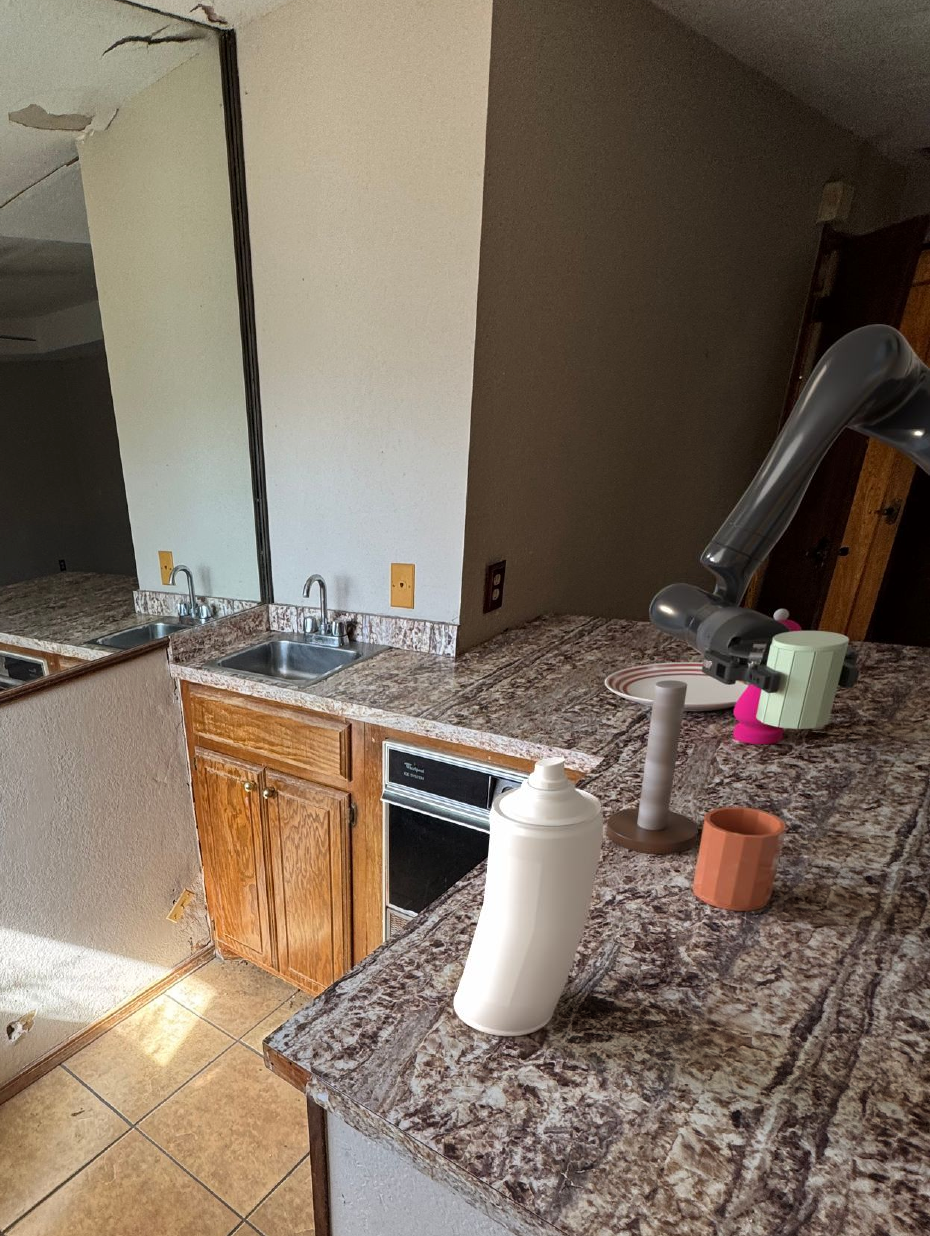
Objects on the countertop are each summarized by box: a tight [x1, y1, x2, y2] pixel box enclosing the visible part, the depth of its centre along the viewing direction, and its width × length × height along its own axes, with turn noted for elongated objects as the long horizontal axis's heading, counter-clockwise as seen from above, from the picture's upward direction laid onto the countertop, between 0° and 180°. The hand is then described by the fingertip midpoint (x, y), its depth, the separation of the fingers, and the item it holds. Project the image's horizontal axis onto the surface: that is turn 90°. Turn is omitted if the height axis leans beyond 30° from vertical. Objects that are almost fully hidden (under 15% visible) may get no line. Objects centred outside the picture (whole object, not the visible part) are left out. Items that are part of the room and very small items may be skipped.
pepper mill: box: [732, 608, 803, 745], centre depth 112 cm, size 7×7×20 cm
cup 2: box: [756, 630, 850, 730], centre depth 80 cm, size 6×6×9 cm
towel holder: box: [605, 680, 699, 855], centre depth 90 cm, size 10×10×20 cm
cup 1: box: [692, 806, 787, 912], centre depth 79 cm, size 7×7×9 cm
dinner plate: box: [604, 661, 748, 712], centre depth 135 cm, size 28×27×3 cm
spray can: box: [453, 756, 604, 1037], centre depth 66 cm, size 12×11×25 cm
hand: (813, 681), depth 78 cm, fingers closed on cup 2, 6 cm apart
